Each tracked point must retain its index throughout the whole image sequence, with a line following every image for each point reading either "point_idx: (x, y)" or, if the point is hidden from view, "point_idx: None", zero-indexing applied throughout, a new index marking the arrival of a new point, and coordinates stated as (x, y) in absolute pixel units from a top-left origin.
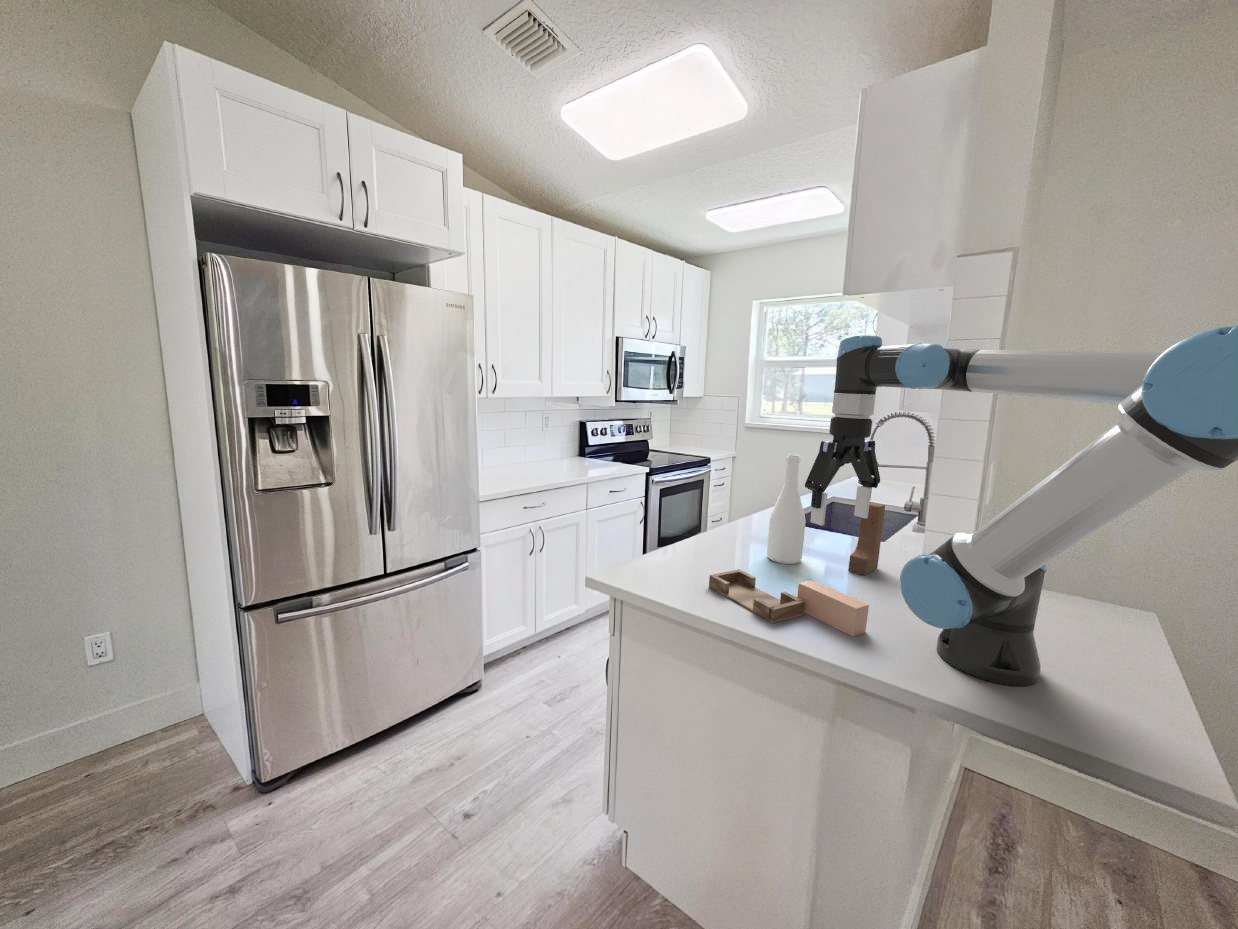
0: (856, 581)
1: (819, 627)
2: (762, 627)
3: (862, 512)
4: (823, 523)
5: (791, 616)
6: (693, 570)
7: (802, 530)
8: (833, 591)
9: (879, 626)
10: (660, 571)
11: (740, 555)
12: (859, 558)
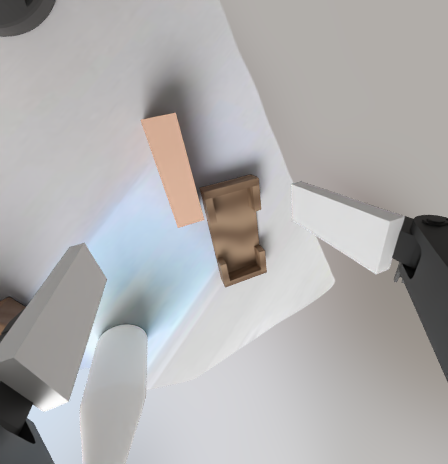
0: (41, 277)
1: (201, 151)
2: (266, 168)
3: (86, 265)
4: (297, 184)
5: (222, 182)
6: (251, 300)
7: (98, 376)
8: (170, 183)
9: (105, 131)
10: (281, 296)
11: (177, 341)
12: (3, 323)
